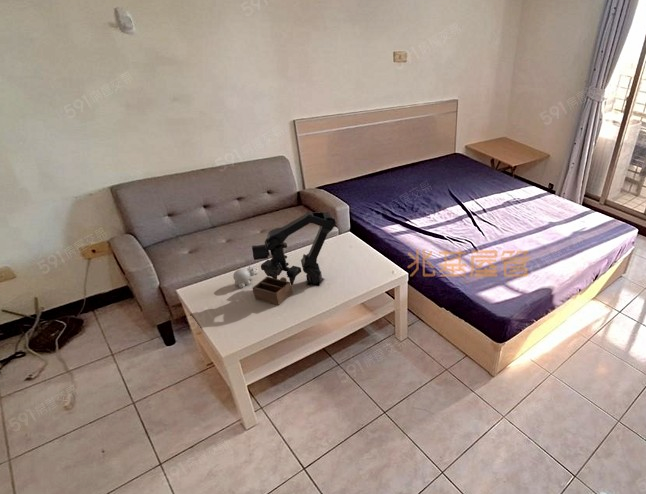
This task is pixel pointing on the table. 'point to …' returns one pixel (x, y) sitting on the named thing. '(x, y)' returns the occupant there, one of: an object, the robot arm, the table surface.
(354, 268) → the table surface
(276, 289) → the shelf
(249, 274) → the toy rhinoceros
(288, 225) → the robot arm
